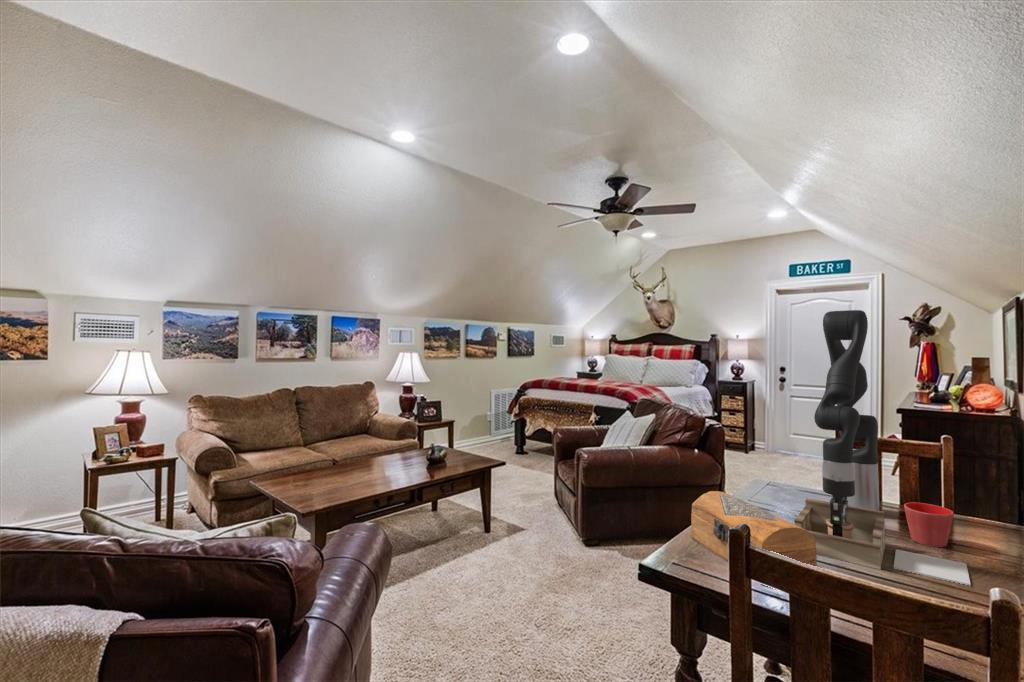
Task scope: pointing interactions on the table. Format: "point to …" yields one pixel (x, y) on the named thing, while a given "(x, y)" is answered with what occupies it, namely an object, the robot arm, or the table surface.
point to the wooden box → (767, 530)
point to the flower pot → (929, 523)
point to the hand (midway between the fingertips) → (839, 534)
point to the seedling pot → (846, 528)
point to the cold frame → (857, 550)
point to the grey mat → (932, 567)
